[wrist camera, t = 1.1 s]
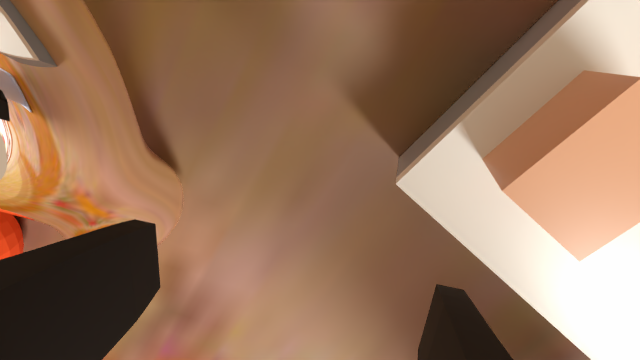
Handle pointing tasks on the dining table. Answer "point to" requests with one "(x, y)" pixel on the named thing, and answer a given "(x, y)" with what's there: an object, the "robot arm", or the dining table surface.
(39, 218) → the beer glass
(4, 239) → the clementine
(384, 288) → the dining table surface
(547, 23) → the tub
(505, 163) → the lid
